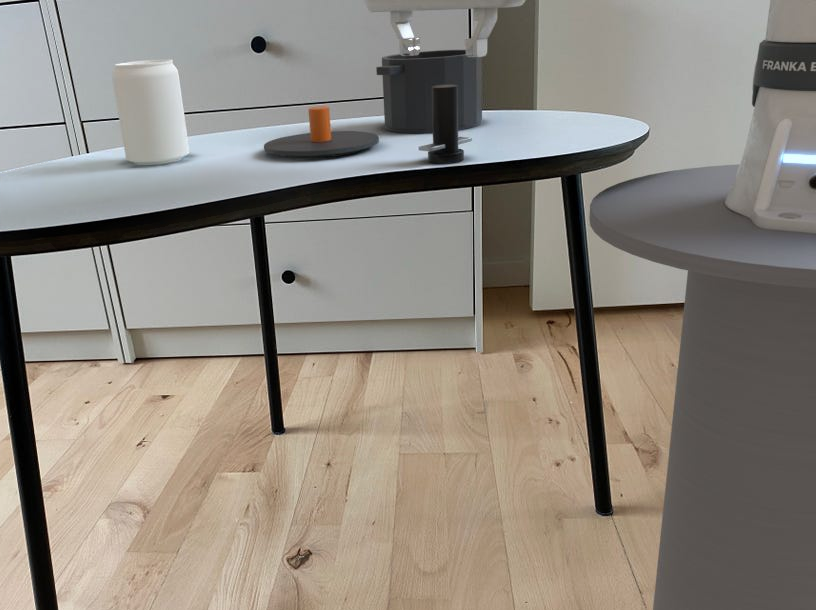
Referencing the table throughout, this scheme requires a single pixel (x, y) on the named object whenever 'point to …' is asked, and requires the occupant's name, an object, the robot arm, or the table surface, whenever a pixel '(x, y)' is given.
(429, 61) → the pot
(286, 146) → the lid
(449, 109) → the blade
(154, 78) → the beverage can
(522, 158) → the table surface
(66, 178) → the table surface
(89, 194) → the table surface
